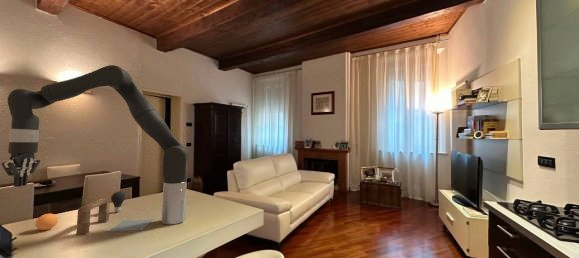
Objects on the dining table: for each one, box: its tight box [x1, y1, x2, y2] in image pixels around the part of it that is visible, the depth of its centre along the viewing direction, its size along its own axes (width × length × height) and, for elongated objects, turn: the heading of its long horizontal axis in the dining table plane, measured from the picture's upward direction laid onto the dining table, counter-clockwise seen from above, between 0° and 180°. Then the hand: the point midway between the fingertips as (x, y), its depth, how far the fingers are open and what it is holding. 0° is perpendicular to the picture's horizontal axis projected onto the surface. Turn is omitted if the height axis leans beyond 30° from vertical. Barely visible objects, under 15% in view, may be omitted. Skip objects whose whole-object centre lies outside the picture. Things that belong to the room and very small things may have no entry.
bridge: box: [75, 197, 111, 236], centre depth 92 cm, size 3×15×10 cm, turn 12°
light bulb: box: [110, 191, 126, 213], centre depth 111 cm, size 6×6×10 cm
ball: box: [35, 213, 59, 231], centre depth 88 cm, size 6×6×6 cm
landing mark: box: [107, 218, 155, 233], centre depth 94 cm, size 12×12×1 cm
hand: (20, 186), depth 87 cm, fingers closed
